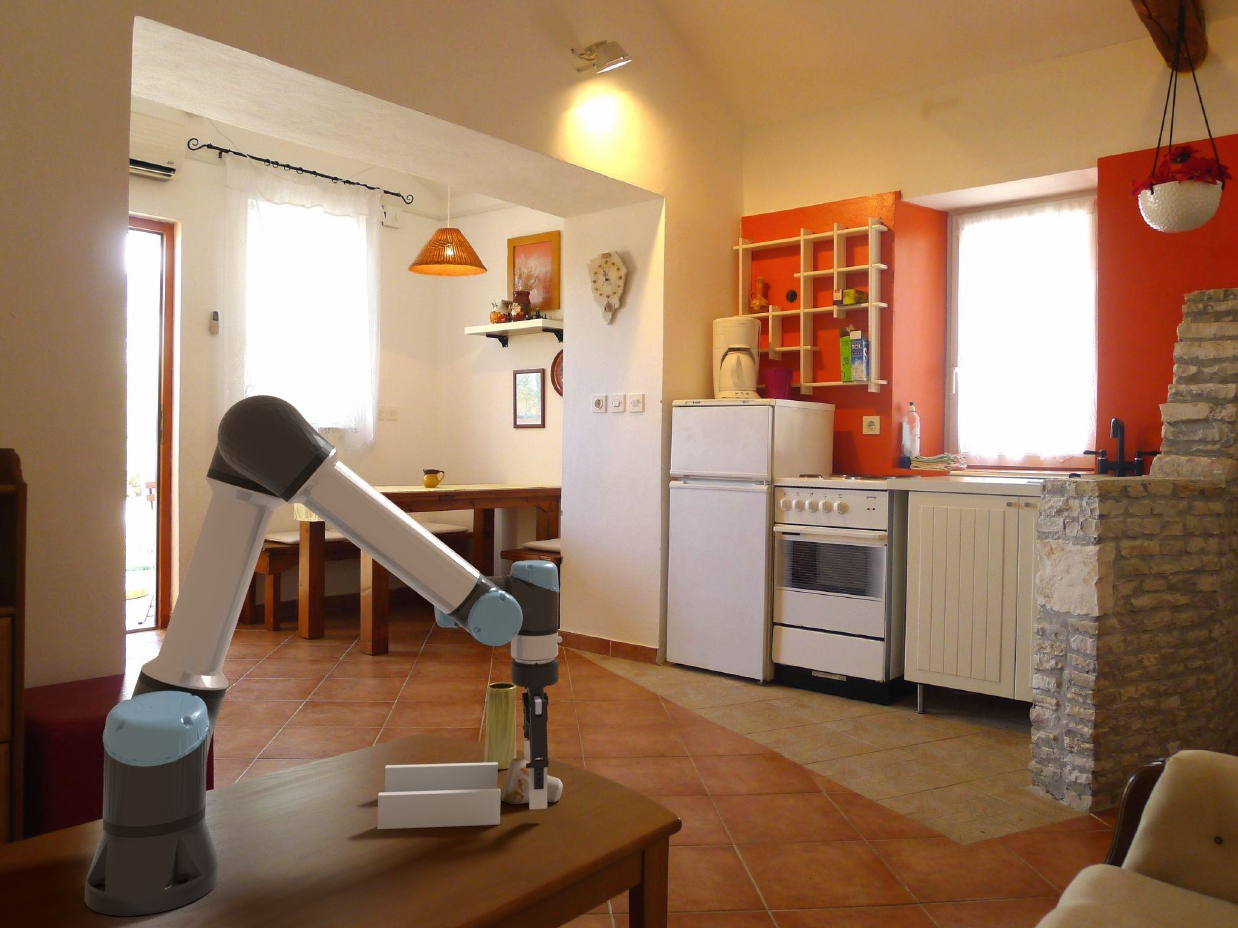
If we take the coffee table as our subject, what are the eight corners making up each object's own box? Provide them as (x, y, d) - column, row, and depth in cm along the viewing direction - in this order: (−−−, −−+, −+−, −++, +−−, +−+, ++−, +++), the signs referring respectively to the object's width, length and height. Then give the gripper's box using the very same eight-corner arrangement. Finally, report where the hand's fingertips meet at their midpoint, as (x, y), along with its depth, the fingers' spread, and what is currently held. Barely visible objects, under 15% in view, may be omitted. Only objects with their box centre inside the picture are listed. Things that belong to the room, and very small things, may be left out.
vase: (478, 768, 165) (480, 688, 165) (488, 757, 171) (490, 680, 171) (511, 770, 164) (513, 690, 164) (520, 760, 170) (522, 682, 170)
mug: (569, 810, 148) (541, 760, 146) (514, 834, 149) (486, 785, 147) (569, 783, 156) (542, 735, 153) (516, 806, 156) (489, 759, 154)
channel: (377, 828, 137) (378, 795, 137) (385, 795, 151) (386, 765, 151) (499, 824, 140) (500, 791, 140) (496, 792, 154) (497, 762, 154)
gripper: (566, 675, 137) (566, 821, 137) (551, 641, 161) (551, 765, 161) (515, 677, 136) (515, 824, 136) (507, 642, 159) (508, 767, 160)
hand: (535, 792), depth 149 cm, fingers open, 12 cm apart
